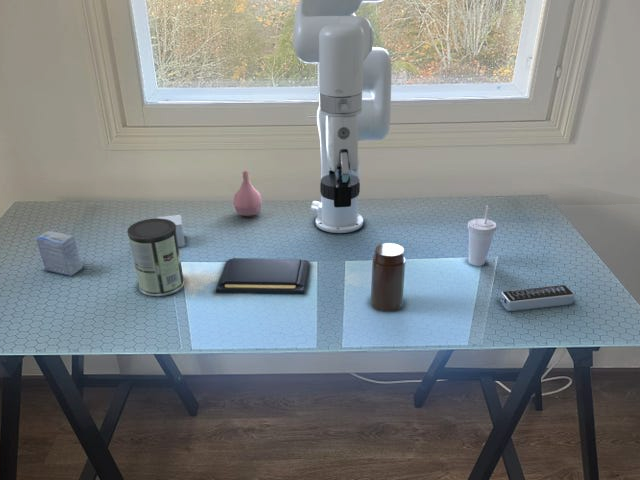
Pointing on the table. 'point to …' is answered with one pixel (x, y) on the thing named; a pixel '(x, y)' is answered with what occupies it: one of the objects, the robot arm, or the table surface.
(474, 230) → the smoothie
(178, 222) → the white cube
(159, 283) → the coffee can
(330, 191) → the lid
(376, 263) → the jar
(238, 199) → the pink teardrop shaped piece
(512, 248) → the table surface
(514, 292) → the multiport hub
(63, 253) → the medicine box
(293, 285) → the wallet
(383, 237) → the table surface
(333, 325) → the table surface
